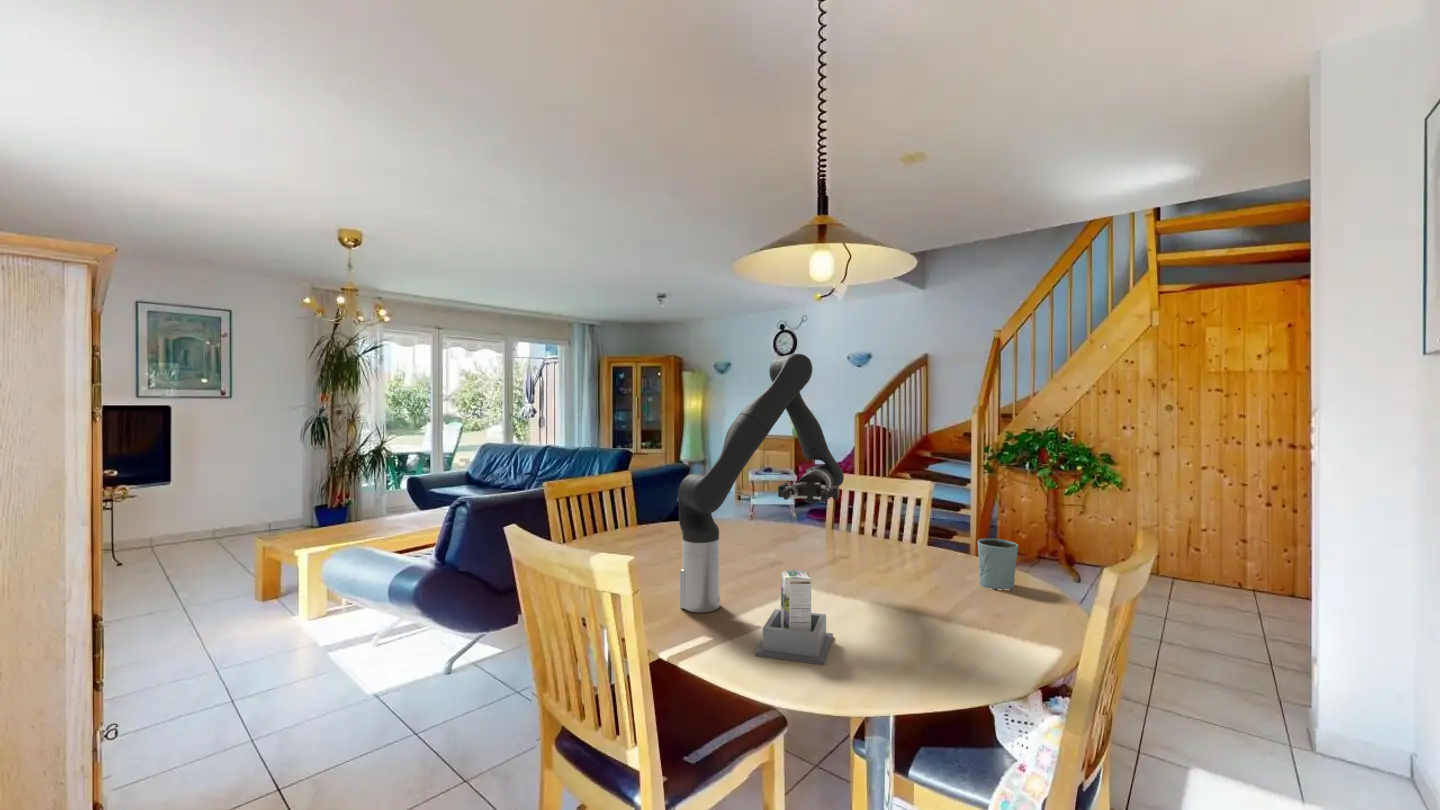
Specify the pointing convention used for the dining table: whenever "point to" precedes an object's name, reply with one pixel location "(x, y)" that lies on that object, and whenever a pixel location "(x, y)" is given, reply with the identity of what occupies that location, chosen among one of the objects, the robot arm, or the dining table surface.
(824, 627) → the holder
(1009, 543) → the grey-green plant pot
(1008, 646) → the dining table surface
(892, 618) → the dining table surface
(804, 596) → the syrup box
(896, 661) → the dining table surface
